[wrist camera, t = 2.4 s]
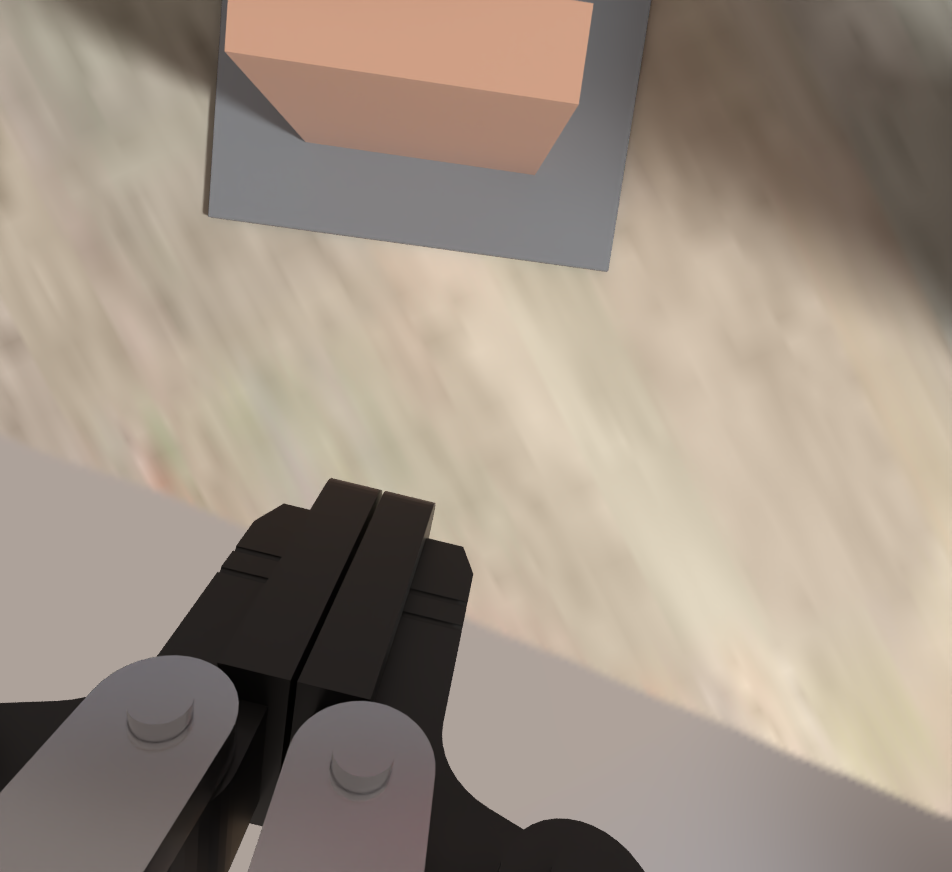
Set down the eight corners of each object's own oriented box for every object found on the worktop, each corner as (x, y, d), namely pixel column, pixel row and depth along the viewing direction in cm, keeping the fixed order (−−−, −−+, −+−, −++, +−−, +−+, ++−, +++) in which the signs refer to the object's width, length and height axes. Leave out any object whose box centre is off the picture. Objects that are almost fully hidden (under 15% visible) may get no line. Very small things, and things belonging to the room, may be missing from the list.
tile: (544, 107, 28) (594, -4, 18) (534, 175, 28) (578, 104, 18) (311, 71, 27) (231, -61, 17) (305, 142, 28) (224, 51, 18)
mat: (680, -198, 26) (683, -204, 26) (606, 271, 29) (607, 271, 29) (242, -275, 25) (239, -282, 25) (210, 217, 28) (208, 216, 28)
